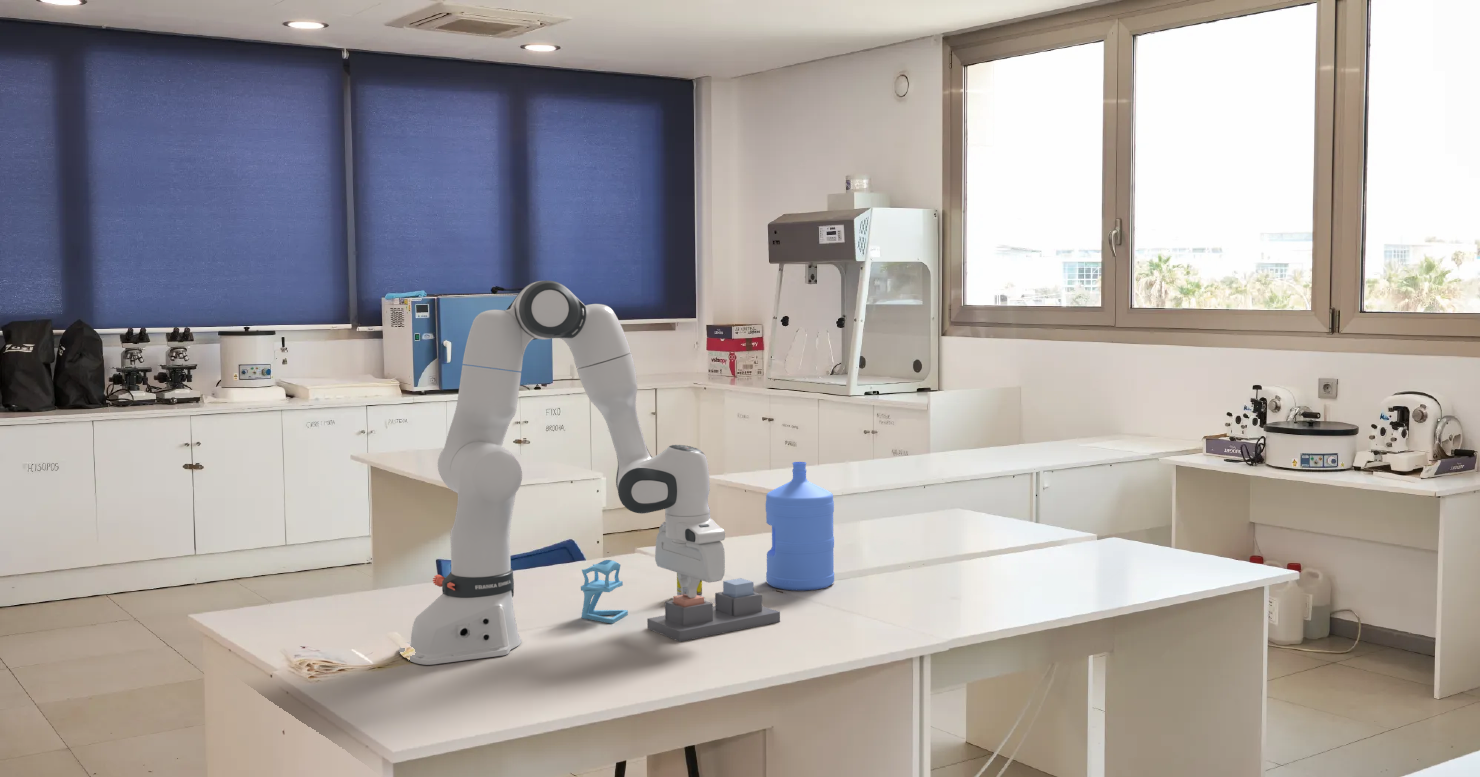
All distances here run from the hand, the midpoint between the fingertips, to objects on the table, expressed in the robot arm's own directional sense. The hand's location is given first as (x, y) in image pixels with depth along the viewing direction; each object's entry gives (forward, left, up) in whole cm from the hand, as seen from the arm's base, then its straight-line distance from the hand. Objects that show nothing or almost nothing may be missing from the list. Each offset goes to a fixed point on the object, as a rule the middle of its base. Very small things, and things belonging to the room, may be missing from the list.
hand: (689, 596), depth 240 cm
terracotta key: (0, 0, -3) cm, 3 cm away
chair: (-9, +19, -7) cm, 22 cm away
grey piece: (+6, 0, -7) cm, 9 cm away
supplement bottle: (+15, +23, -7) cm, 28 cm away
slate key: (+12, 0, -2) cm, 12 cm away
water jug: (+42, +18, -7) cm, 46 cm away
